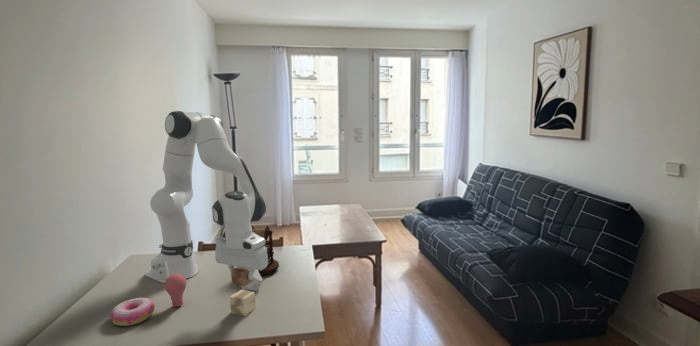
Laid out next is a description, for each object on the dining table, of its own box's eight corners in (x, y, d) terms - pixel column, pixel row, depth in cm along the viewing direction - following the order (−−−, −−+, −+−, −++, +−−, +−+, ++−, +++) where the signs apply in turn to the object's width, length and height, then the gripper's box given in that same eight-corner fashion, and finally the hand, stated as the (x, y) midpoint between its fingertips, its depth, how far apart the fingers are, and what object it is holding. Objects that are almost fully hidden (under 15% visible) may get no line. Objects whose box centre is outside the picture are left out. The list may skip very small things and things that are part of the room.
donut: (145, 304, 147) (143, 291, 146) (162, 316, 139) (161, 302, 138) (104, 320, 137) (102, 306, 136) (121, 333, 128) (119, 318, 127)
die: (250, 298, 151) (264, 275, 152) (231, 286, 152) (245, 264, 153) (255, 296, 159) (268, 274, 160) (237, 285, 160) (250, 263, 161)
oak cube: (231, 312, 139) (229, 296, 138) (242, 305, 145) (241, 289, 144) (244, 316, 137) (243, 299, 136) (256, 308, 142) (254, 292, 141)
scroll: (239, 277, 169) (235, 231, 166) (251, 263, 183) (248, 220, 180) (273, 278, 167) (270, 231, 164) (283, 264, 182) (280, 221, 178)
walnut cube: (232, 284, 138) (230, 270, 137) (241, 278, 143) (240, 265, 142) (243, 286, 136) (242, 272, 135) (253, 280, 140) (252, 267, 140)
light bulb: (175, 313, 140) (171, 280, 138) (162, 308, 144) (159, 276, 142) (192, 304, 146) (189, 273, 144) (180, 299, 150) (177, 269, 148)
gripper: (209, 239, 138) (212, 277, 141) (257, 245, 130) (260, 286, 132) (222, 233, 144) (225, 270, 146) (269, 239, 135) (272, 278, 138)
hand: (242, 278), depth 139 cm, fingers closed on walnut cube, 5 cm apart
